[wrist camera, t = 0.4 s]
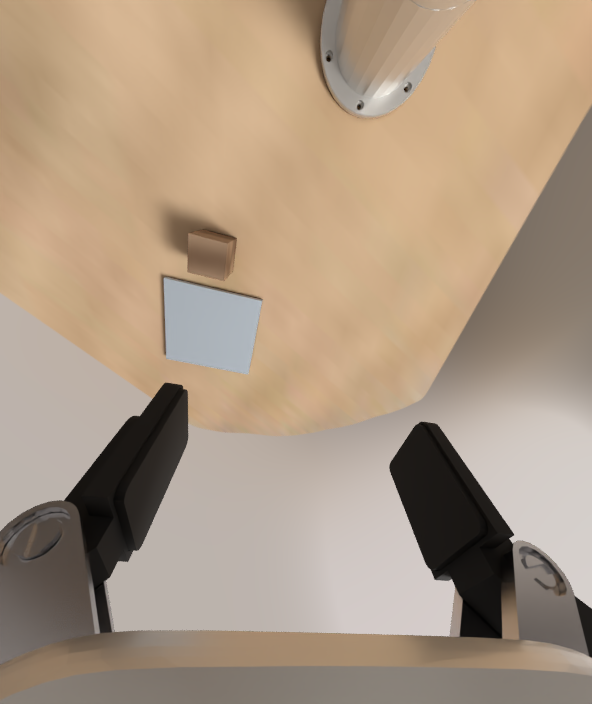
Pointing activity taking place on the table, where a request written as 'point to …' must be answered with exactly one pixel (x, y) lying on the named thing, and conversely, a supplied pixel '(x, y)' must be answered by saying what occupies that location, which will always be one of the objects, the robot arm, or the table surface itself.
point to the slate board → (209, 325)
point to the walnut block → (211, 254)
